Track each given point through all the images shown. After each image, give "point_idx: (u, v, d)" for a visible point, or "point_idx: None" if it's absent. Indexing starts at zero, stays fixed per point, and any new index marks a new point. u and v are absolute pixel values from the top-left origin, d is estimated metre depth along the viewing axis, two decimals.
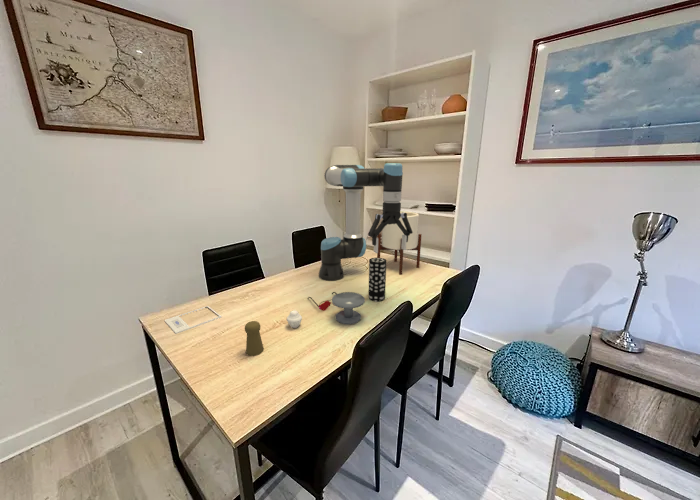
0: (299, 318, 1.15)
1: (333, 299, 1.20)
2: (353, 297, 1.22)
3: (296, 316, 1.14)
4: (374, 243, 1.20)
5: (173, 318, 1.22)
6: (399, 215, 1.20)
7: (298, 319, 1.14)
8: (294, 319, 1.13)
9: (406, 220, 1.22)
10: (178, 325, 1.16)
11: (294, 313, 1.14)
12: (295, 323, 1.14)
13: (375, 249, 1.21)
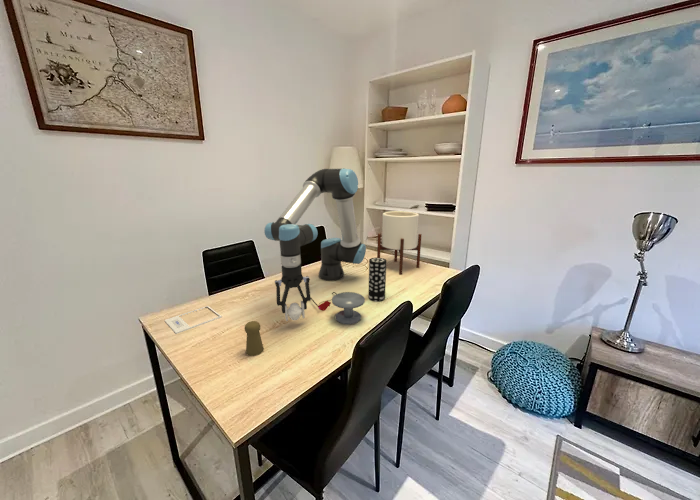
0: (299, 310, 1.14)
1: (333, 299, 1.20)
2: (353, 297, 1.22)
3: (296, 308, 1.14)
4: (283, 311, 1.13)
5: (173, 318, 1.22)
6: (301, 278, 1.11)
7: (298, 311, 1.14)
8: (294, 311, 1.13)
9: (307, 285, 1.13)
10: (178, 325, 1.16)
11: (294, 305, 1.14)
12: (295, 315, 1.13)
13: (285, 316, 1.14)
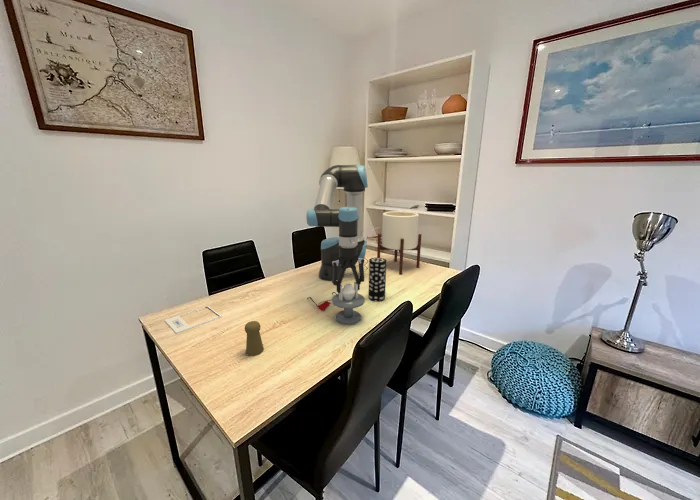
0: (353, 290, 1.19)
1: (333, 299, 1.20)
2: (353, 297, 1.22)
3: (351, 288, 1.18)
4: (338, 291, 1.18)
5: (173, 318, 1.22)
6: (356, 259, 1.16)
7: (353, 291, 1.18)
8: (349, 291, 1.17)
9: (361, 267, 1.18)
10: (178, 325, 1.16)
11: (349, 286, 1.18)
12: (350, 295, 1.18)
13: (340, 296, 1.19)
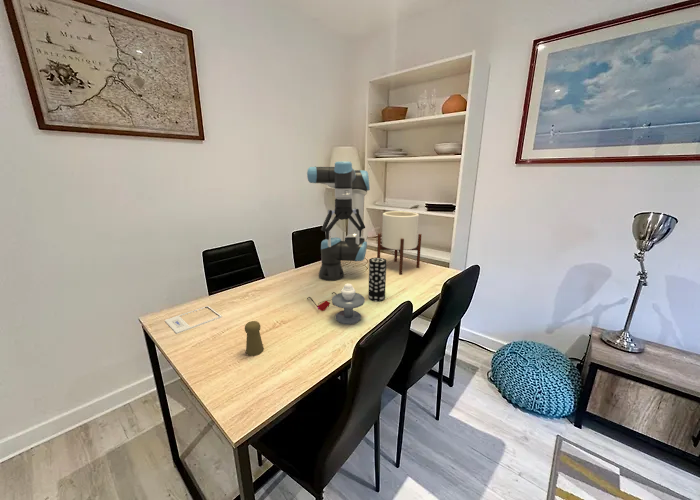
0: (353, 290, 1.19)
1: (333, 299, 1.20)
2: (353, 297, 1.22)
3: (351, 288, 1.18)
4: (327, 237, 1.26)
5: (173, 318, 1.22)
6: (351, 211, 1.26)
7: (353, 291, 1.18)
8: (349, 291, 1.17)
9: (358, 216, 1.28)
10: (179, 325, 1.16)
11: (349, 286, 1.18)
12: (350, 295, 1.18)
13: (328, 243, 1.27)
